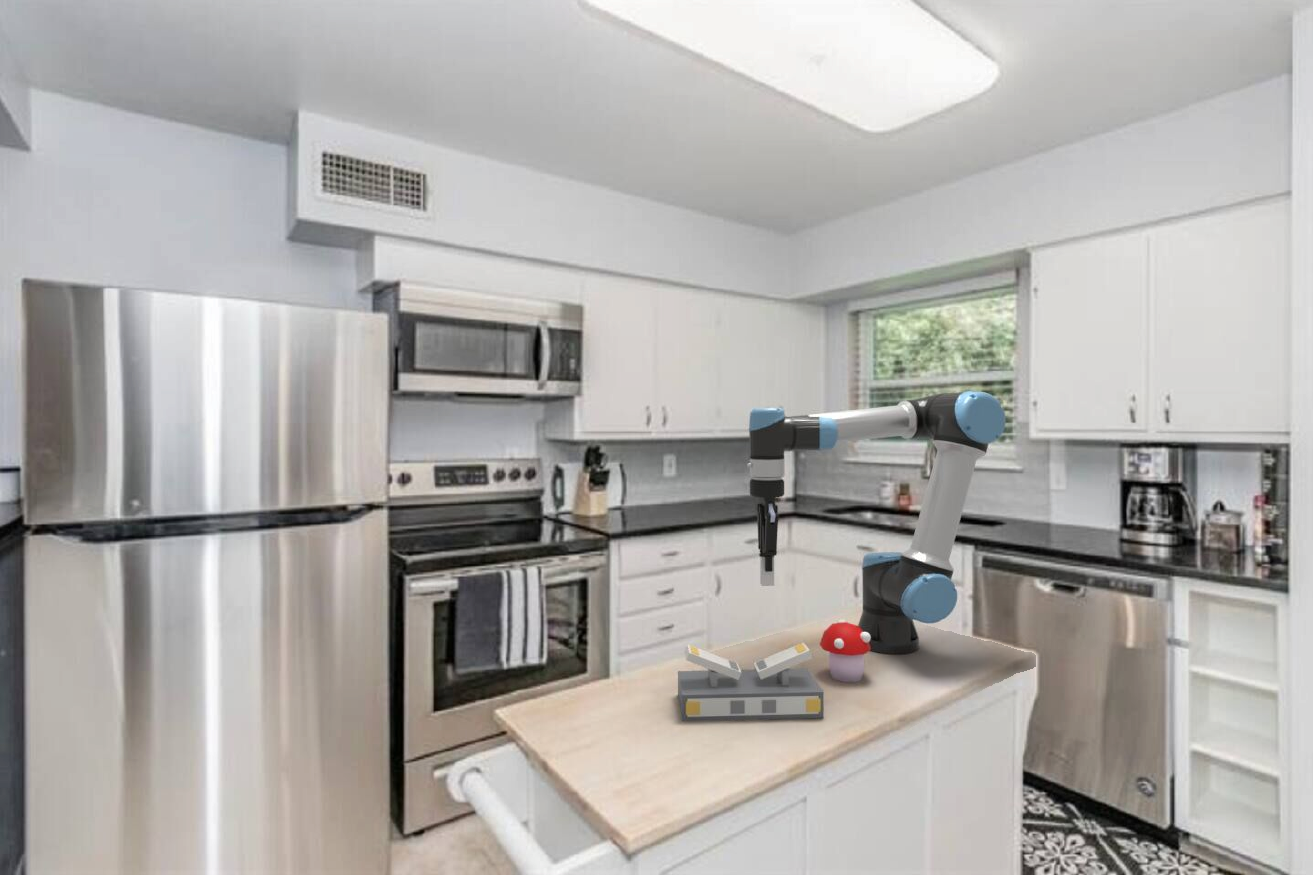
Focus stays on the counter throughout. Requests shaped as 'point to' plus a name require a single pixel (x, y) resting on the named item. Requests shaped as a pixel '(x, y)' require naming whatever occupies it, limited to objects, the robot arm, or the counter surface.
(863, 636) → the mushroom
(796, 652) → the rocker
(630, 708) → the counter surface
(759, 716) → the switch unit
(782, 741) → the counter surface
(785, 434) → the robot arm
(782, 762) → the counter surface
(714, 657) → the rocker
